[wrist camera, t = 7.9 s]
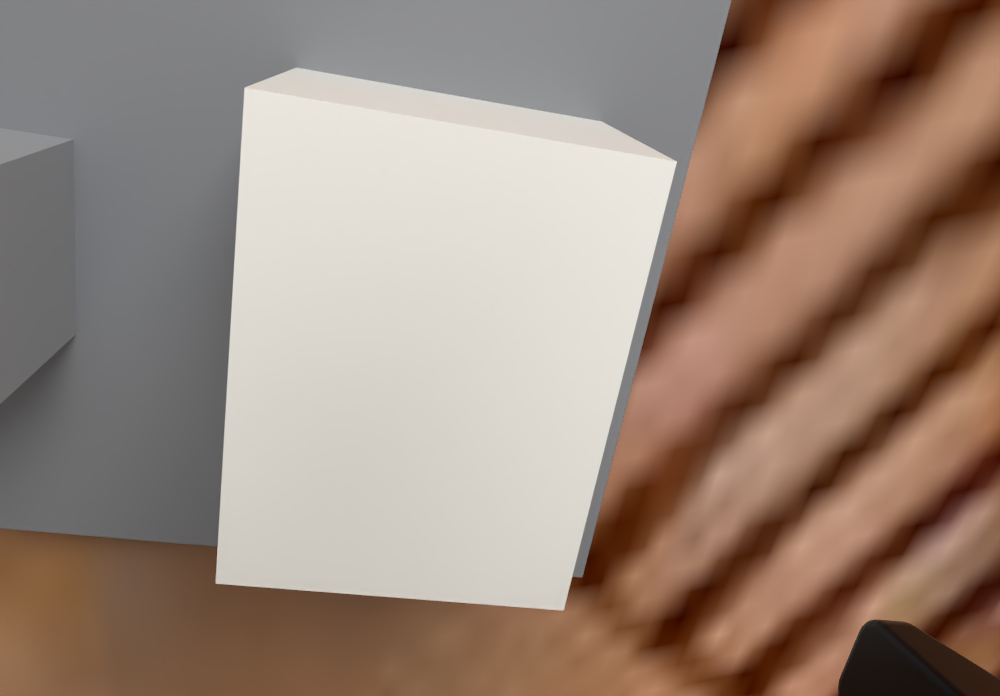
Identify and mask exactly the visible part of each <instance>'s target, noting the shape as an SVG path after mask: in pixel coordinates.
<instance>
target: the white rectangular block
mask: <svg viewBox="0 0 1000 696" xmlns="http://www.w3.org/2000/svg"><path fill="white" fill-rule="evenodd" d="M676 164H677V161H675V160H673V159H671V158H669V157H667V156H666V155H664V154H662V153H660V152H658V151H656V150H654V149H652V148H651V147H649V146H647V145H645V144H643V143H641V142H639V141H637V140H636V139H634V138H632V137H630V136H628V135H626V134H624V133H622V132H621V131H619V130H617V129H615V128H613V127H611V126H609V125H607V124H606V123H604V122H602V121H596V120H591V119H585V118H579V117H574V116H568V115H562V114H557V113H551V112H545V111H540V110H534V109H528V108H523V107H517V106H511V105H506V104H500V103H494V102H489V101H483V100H478V99H472V98H466V97H461V96H455V95H449V94H444V93H438V92H432V91H427V90H421V89H415V88H410V87H404V86H398V85H393V84H387V83H381V82H376V81H370V80H364V79H359V78H353V77H347V76H342V75H336V74H330V73H325V72H319V71H313V70H308V69H302V68H294V69H291V70H289V71H286V72H284V73H281V74H278V75H276V76H273V77H271V78H268V79H265V80H263V81H260V82H258V83H255V84H252V85H250V86H247V87H245V88H244V105H243V122H242V139H241V156H240V173H239V190H238V207H237V224H236V242H235V259H234V276H233V293H232V310H231V327H230V344H229V361H228V378H227V395H226V413H225V430H224V447H223V464H222V481H221V498H220V515H219V532H218V549H217V567H216V584H227V585H240V586H253V587H266V588H279V589H291V590H304V591H317V592H330V593H343V594H356V595H369V596H382V597H395V598H408V599H421V600H434V601H447V602H460V603H473V604H486V605H499V606H512V607H524V608H537V609H550V610H563V611H564V607H565V603H566V599H567V595H568V591H569V587H570V583H571V579H572V575H573V571H574V567H575V563H576V559H577V556H578V552H579V548H580V544H581V540H582V536H583V532H584V528H585V524H586V520H587V516H588V512H589V508H590V504H591V500H592V496H593V492H594V488H595V484H596V480H597V476H598V472H599V468H600V465H601V461H602V457H603V453H604V449H605V445H606V441H607V437H608V433H609V429H610V425H611V421H612V417H613V413H614V409H615V405H616V401H617V397H618V393H619V389H620V385H621V381H622V377H623V374H624V370H625V366H626V362H627V358H628V354H629V350H630V346H631V342H632V338H633V334H634V330H635V326H636V322H637V318H638V314H639V310H640V306H641V302H642V298H643V294H644V290H645V286H646V283H647V279H648V275H649V271H650V267H651V263H652V259H653V255H654V251H655V247H656V243H657V239H658V235H659V231H660V227H661V223H662V219H663V215H664V211H665V207H666V203H667V199H668V195H669V192H670V188H671V184H672V180H673V176H674V172H675V168H676Z"/></svg>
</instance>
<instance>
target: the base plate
mask: <svg viewBox="0 0 1000 696" xmlns="http://www.w3.org/2000/svg"><path fill="white" fill-rule="evenodd" d="M730 4H731V0H0V528H1V529H13V530H25V531H37V532H49V533H61V534H73V535H85V536H96V537H108V538H120V539H132V540H144V541H156V542H168V543H180V544H191V545H203V546H215V547H218V532H219V515H220V498H221V481H222V464H223V447H224V430H225V413H226V395H227V378H228V361H229V344H230V327H231V310H232V293H233V276H234V259H235V242H236V224H237V207H238V190H239V173H240V156H241V139H242V122H243V105H244V88H245V87H247V86H250V85H252V84H255V83H258V82H260V81H263V80H265V79H268V78H271V77H273V76H276V75H278V74H281V73H284V72H286V71H289V70H291V69H294V68H302V69H308V70H313V71H319V72H325V73H330V74H336V75H342V76H347V77H353V78H359V79H364V80H370V81H376V82H381V83H387V84H393V85H398V86H404V87H410V88H415V89H421V90H427V91H432V92H438V93H444V94H449V95H455V96H461V97H466V98H472V99H478V100H483V101H489V102H494V103H500V104H506V105H511V106H517V107H523V108H528V109H534V110H540V111H545V112H551V113H557V114H562V115H568V116H574V117H579V118H585V119H591V120H596V121H602V122H604V123H606V124H607V125H609V126H611V127H613V128H615V129H617V130H619V131H621V132H622V133H624V134H626V135H628V136H630V137H632V138H634V139H636V140H637V141H639V142H641V143H643V144H645V145H647V146H649V147H651V148H652V149H654V150H656V151H658V152H660V153H662V154H664V155H666V156H667V157H669V158H671V159H673V160H675V161H677V164H676V168H675V172H674V176H673V180H672V184H671V188H670V192H669V195H668V199H667V203H666V207H665V211H664V215H663V219H662V223H661V227H660V231H659V235H658V239H657V243H656V247H655V251H654V255H653V259H652V263H651V267H650V271H649V275H648V279H647V283H646V286H645V290H644V294H643V298H642V302H641V306H640V310H639V314H638V318H637V322H636V326H635V330H634V334H633V338H632V342H631V346H630V350H629V354H628V358H627V362H626V366H625V370H624V374H623V377H622V381H621V385H620V389H619V393H618V397H617V401H616V405H615V409H614V413H613V417H612V421H611V425H610V429H609V433H608V437H607V441H606V445H605V449H604V453H603V457H602V461H601V465H600V468H599V472H598V476H597V480H596V484H595V488H594V492H593V496H592V500H591V504H590V508H589V512H588V516H587V520H586V524H585V528H584V532H583V536H582V540H581V544H580V548H579V552H578V556H577V559H576V563H575V567H574V571H573V575H572V577H582V576H583V573H584V569H585V565H586V561H587V557H588V553H589V549H590V545H591V542H592V538H593V534H594V530H595V526H596V522H597V518H598V514H599V511H600V507H601V503H602V499H603V495H604V491H605V487H606V483H607V480H608V476H609V472H610V468H611V464H612V460H613V456H614V453H615V449H616V445H617V441H618V437H619V433H620V429H621V425H622V422H623V418H624V414H625V410H626V406H627V402H628V398H629V394H630V391H631V387H632V383H633V379H634V375H635V371H636V367H637V363H638V360H639V356H640V352H641V348H642V344H643V340H644V336H645V333H646V329H647V325H648V321H649V317H650V313H651V309H652V305H653V302H654V298H655V294H656V290H657V286H658V282H659V278H660V274H661V271H662V267H663V263H664V259H665V255H666V251H667V247H668V244H669V240H670V236H671V232H672V228H673V224H674V220H675V216H676V213H677V209H678V205H679V201H680V197H681V193H682V189H683V185H684V182H685V178H686V174H687V170H688V166H689V162H690V158H691V154H692V151H693V147H694V143H695V139H696V135H697V131H698V127H699V124H700V120H701V116H702V112H703V108H704V104H705V100H706V96H707V93H708V89H709V85H710V81H711V77H712V73H713V69H714V65H715V62H716V58H717V54H718V50H719V46H720V42H721V38H722V34H723V31H724V27H725V23H726V19H727V15H728V11H729V7H730Z"/></svg>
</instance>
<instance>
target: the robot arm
mask: <svg viewBox="0 0 1000 696" xmlns="http://www.w3.org/2000/svg"><path fill="white" fill-rule="evenodd" d="M838 696H1000V679H999V678H997V677H995V676H994V675H992V674H991V673H989V672H987V671H986V670H984V669H983V668H981V667H979V666H978V665H976V664H975V663H973V662H971V661H970V660H968V659H967V658H965V657H963V656H962V655H960V654H958V653H957V652H955V651H954V650H952V649H950V648H949V647H947V646H946V645H944V644H942V643H941V642H939V641H938V640H936V639H934V638H933V637H931V636H930V635H928V634H926V633H925V632H923V631H922V630H920V629H918V628H917V627H915V626H913V625H912V624H909V623H906V622H900V621H888V620H871V621H868V622H867V623H866V624H865V625H864V626H862V628H861V630H860V632H859V634H858V636H857V639H856V641H855V643H854V646H853V648H852V651H851V653H850V655H849V658H848V660H847V662H846V665H845V667H844V670H843V672H842V674H841V677H840V680H839V686H838Z"/></svg>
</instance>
